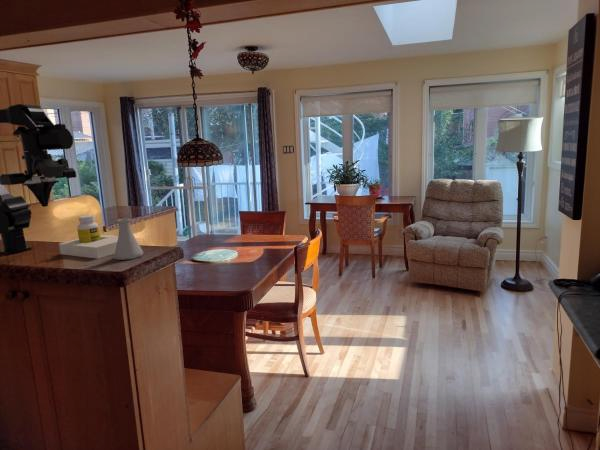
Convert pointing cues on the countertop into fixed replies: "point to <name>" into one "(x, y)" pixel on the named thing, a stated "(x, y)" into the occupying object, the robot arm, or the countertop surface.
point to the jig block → (90, 247)
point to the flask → (126, 242)
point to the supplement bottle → (88, 229)
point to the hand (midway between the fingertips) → (45, 206)
